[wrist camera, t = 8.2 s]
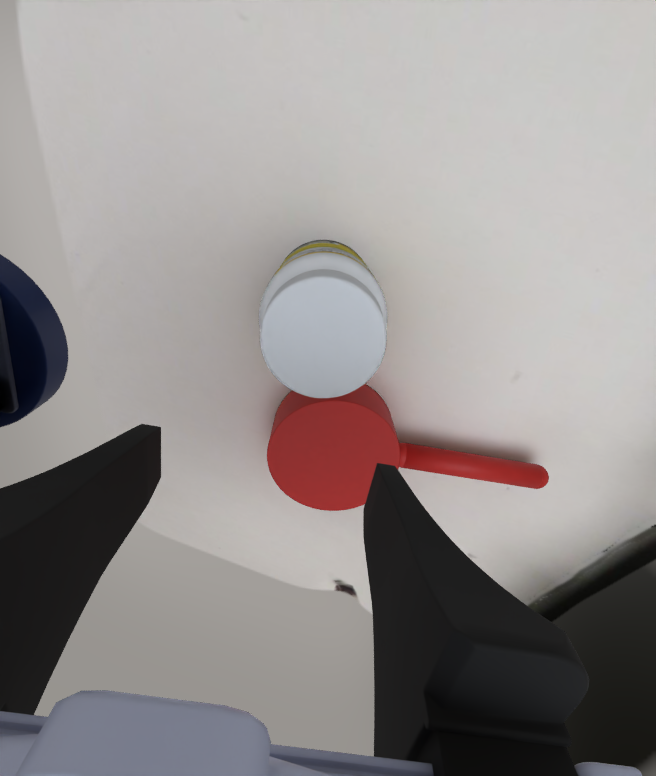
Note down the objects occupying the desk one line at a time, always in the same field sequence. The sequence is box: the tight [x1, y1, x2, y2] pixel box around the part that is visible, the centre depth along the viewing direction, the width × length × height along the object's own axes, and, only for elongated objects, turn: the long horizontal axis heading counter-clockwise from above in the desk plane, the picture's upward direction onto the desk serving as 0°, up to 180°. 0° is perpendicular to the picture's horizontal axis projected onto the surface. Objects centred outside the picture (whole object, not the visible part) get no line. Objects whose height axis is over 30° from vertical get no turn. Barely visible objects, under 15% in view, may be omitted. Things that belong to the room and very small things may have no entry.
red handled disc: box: [267, 384, 549, 511], centre depth 22 cm, size 16×7×3 cm, turn 79°
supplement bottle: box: [259, 240, 387, 398], centre depth 16 cm, size 5×5×8 cm
